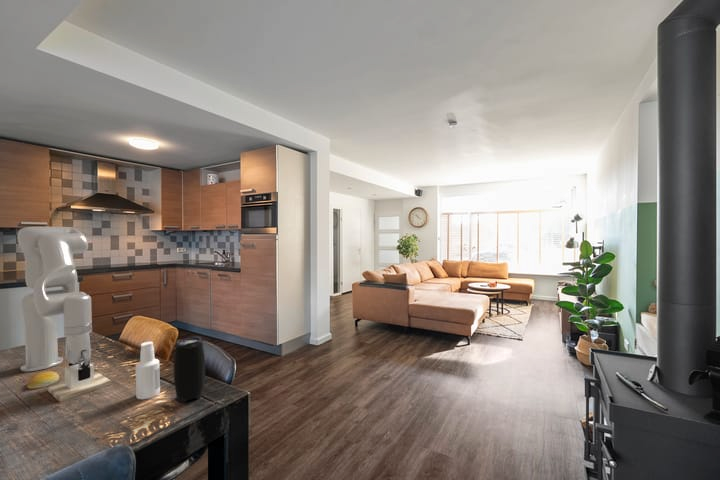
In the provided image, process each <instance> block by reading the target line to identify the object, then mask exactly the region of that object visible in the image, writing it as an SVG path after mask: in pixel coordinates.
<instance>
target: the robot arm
mask: <svg viewBox="0 0 720 480" xmlns="http://www.w3.org/2000/svg"><path fill="white" fill-rule="evenodd" d="M17 242H18V246H19V248H20V249H21V251H22V253H23V255H24V275H25V276H24V277H25V278H24V279H25V285H26V287H27V288H29V289H30V290H32V292H31V293H28V294H26V295H24V296H23V297H22V298H21V299H20V308H21V312H22V317H23V322H24V342H25V347H24V349H25V363H24V364H23V365H21V367H20V371H21V372H26V373H27V372H35V371H41V370H47V369H49V368H53V367H55V366H58V365H60V364H61V363H63V361H64V359H65V360H66V361H67V362H68V367H69V366H73V365H76V364H78V366H79V370H78V380H79V381H81V380H85V379H88V378H90V363H91V362H90V360H91V357H92V356H91V355H92V351H91V348H92V347H91V338H90V333H92V332H93V321H92V318H93V317H92V316H93V315H92V314H93V313H92V297H91V296H90V295H89V294H87V293H86V292H84V291H78V272H77V270H76V264H75V262H74V258H73V255H75V254H85V253H86V252H87V251H88V249H89V241H88V238H87V236H86V235H85V234H84V233H82V232H81V231H80V230H78V229H77V228H75V227H71V226H27V227H23V228H21V229H19V230H18V232H17ZM60 287H61V288H60ZM51 288H60V289H54V290H53V289H52V290H51ZM46 289H50V290H46ZM59 315H63V336H64V337H65V346H64V347H65V351H64V352H65V353H64V354H65V355H64V357H65V358H64V359H63V357H60V356H59V354H58V353H59V352H58V351H59V349H58V345H59V344H58V323H57V321H56V319H55V318H53V317H55V316H59ZM81 363H82V365H81Z"/></svg>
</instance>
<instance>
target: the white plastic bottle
mask: <svg viewBox="0 0 720 480" xmlns="http://www.w3.org/2000/svg"><path fill="white" fill-rule="evenodd" d="M139 356H140V358H139V359H140V361H138V362H137V363H136V364H135V367H134V368H135V394H136V395H135V396H136V399H138V400H147V399H152V398H154V397H156V396H157V395H159V394H160V392H161V379H160V377H161V375H160V374H161V373H160V371H161V370H160V360H159V359H158V358H155V347H154V341H145V342H142V343H141V344H140V355H139Z"/></svg>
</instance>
